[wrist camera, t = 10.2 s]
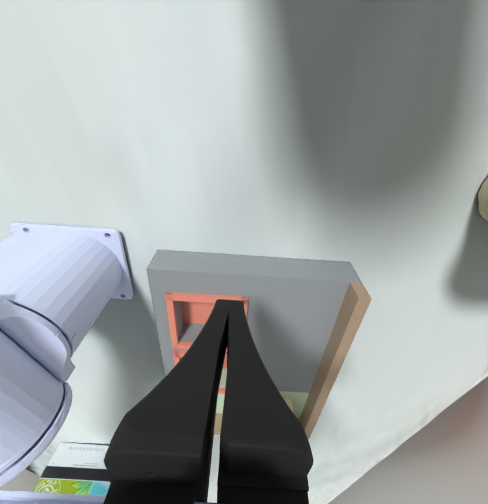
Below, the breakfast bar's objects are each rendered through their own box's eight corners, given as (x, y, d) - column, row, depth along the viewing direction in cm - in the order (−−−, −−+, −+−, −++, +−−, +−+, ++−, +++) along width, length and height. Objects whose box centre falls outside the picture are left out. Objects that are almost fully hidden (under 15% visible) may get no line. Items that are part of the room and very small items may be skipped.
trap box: (176, 392, 37) (167, 431, 32) (157, 249, 24) (137, 284, 19) (302, 398, 37) (308, 438, 33) (350, 262, 24) (371, 299, 20)
